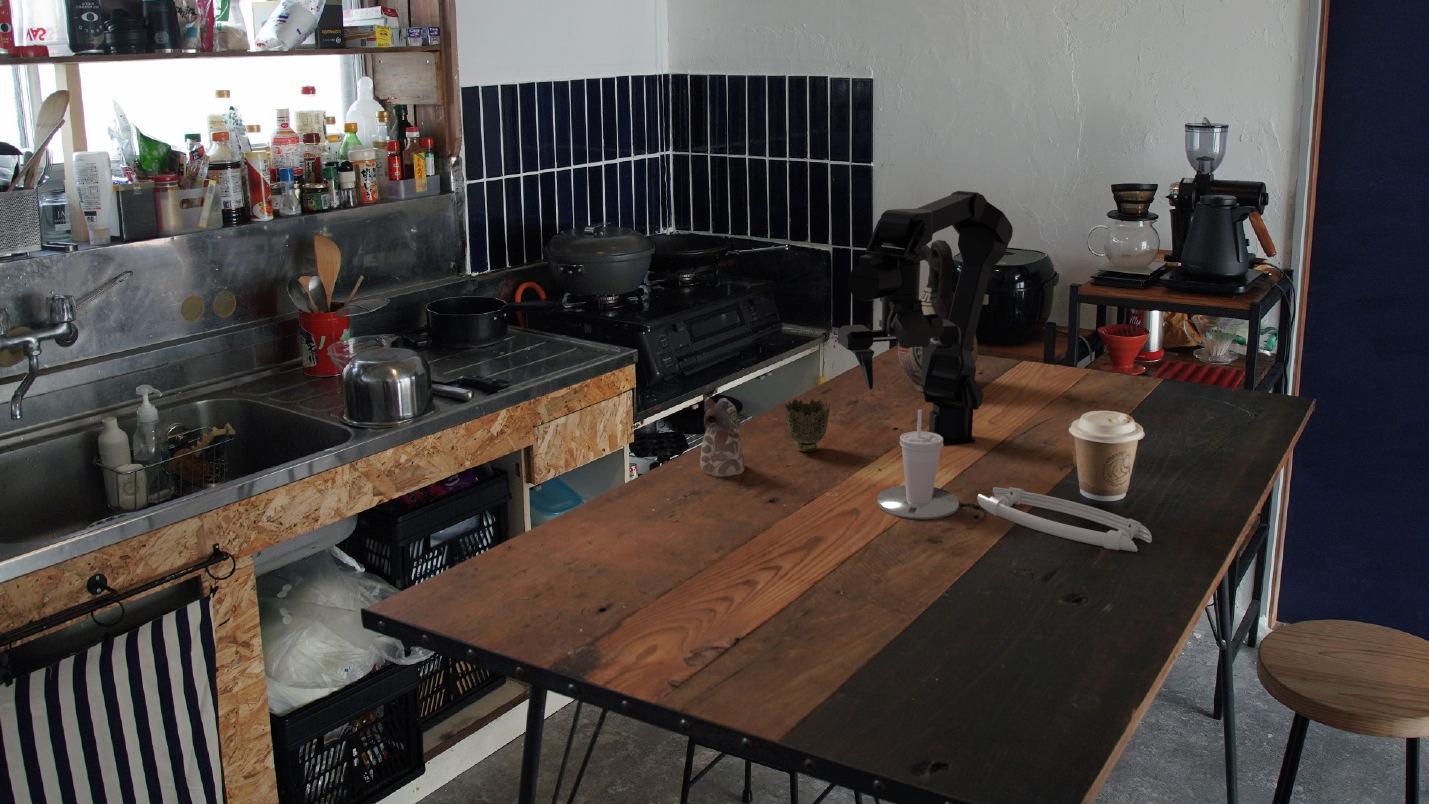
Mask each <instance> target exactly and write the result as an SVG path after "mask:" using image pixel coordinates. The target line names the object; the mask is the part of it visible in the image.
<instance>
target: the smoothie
mask: <svg viewBox="0 0 1429 804" xmlns="http://www.w3.org/2000/svg"><path fill="white" fill-rule="evenodd" d="M922 414H923V410H922V409H918V410H917V427H916V430H915V431H909V432H908V431H907V432H905V433H902V434H901V435H900V436H899V445H900V446H901V451H902V453H901V454H902V461H903V462H902V463H903V464H902V465H903V473H904V474H903V475H904V486H906V497H907V500H908V501H909V502H912V503H917V504H924V503H929V502H931V500H932V495H933V489H934V487H935V485H936V484H935V483H936V477H937V471H938V466H939V460H940V454H941V449H942V448H943V447H944V445H945V444H943V437H942V436H940V435H938V434H935V433H932V432H928V431H923V430H922V418H923V417H922Z"/></svg>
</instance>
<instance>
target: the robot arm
mask: <svg viewBox="0 0 1429 804" xmlns="http://www.w3.org/2000/svg"><path fill="white" fill-rule="evenodd" d="M985 197H986V196H984V194H982V193H979V192H977V191H967V190H966V191H965V190H956V191H953V192H952V193H951V194H950V195H948V196H945V197H943V198H939V199H937V200H935V201H932V202H930V203H929V202H928V203H927V204H925V205H922V206H920V207H918V208H894V209H892V208H891V209H886V210H885V211H884V212H882V214H881V215H880V218H879V219H878V221H877V222H876V226H875V227H874V229H873V231H872V234H871V236H870V239H869V241H868V244H867V246H866V249H865V251H864V255H861V256H860V257H859V264H856V265H854V267H853V268H852V269H851V271H850V273H849V276H848V277H847V286H848V289H849V291H850V292H851V293H850V294H851V295H852V296H853V297H854V298H855V299H857V300H858V301H860V302H870V301H874V300H878V299H879V302H880V303H882V304H881V319H879V321H878V327H880V328H881V329H869V328H868V327H867V326H866V325H863V324H851V325H842V326H841V327H840V328H839V330H838V332H837V334H838V335H837V343H838V344H840V345H841V346H842V347H843V348H845V349H846V350H848V351H850V352H852V353H853V354H854V356H855V358H856V360H857V362H858V364H859V367H860V370H861V372H862V375H863V378H864V380H865V383H866V386H867V389H869V390H870V391H871V390H873V388H874V372H873V371H874V369H873V357H874V355H875V351H874V350H873V349H872V346H873V345H874V343H882V342H894V341H896V342H899V345H900V346H901V347H902V348H911V347H922V387H923V392H922V393H923V397H924V402H925V403H931V404H932V410H931V411H929V418H928V419H929V420H928V430H927V432H932V433H935V434H938V435H940V436H942V437H943V444H944V445H949V444H950V445H951V444H953V445H954V444H963V443H965V444H966V443H974V442H976V441H977V438H976V437H974V436H973V423H974V421H973V420H974V410H975V411H976V410H979V409H980V407H981V406H982V403H983V398H984V395H985V394H984V392H983V390H982V388H981V387H980V385H979V384H978V383H977V381H976V380H975V379H976V372H977V367H976V363H974V360H973V357H972V354H971V349H972V344H973V340H974V336H975V334H976V331H977V330H978V329H977V328H978V324H979V320H980V315H981V311H982V308H983V304H984V300H985V297H986V292H987V288H988V285H989V284H988V283H989V279H990V276H991V273H992V269H993V268H994V267H995V266H996V265H997V264H998V263H999V262H1000V261H1001V260H1002V259H1003V258H1004V257H1005V255H1006V252H1007V250H1008V246H1009V243H1010V242H1011V240H1012V238H1013V233H1014V230H1013V229H1014V228H1013V225H1012V223H1011V222H1010V220H1009V219H1008V217H1007V216H1006V214H1005V213H1004V211H1002V210H1001V209H999V208H997V207H996V206H995V205H993V204H991V203H990V202H988V200H987V199H986V198H985ZM951 226H952V228H954V230H955V232H956V233H957V234H958V241H957V247H958V251H959V253H960V257H961V261H962V263H961V268H960V271H959V276H958V280H957V285H956V288H955V291H954V294H955V296H954V300H953V304H952V308H951V312H950V316H949V320H943V317H942V315H941V314H929V315H924V314H923V310H922V300H920V299H919V297H920V287H921V286H920V283H921V282H920V281H921V280H920V279H921V262H922V261H925V260H926V259H927V258H928V256H927V255H926V253H925V252H923V251H922V250H921V248H923V247H924V246H925V245H927V246H928V244H930V242H931V243H932V240H933V236H934V234H936V233H937V232H940V231H942V230H945V229H947V228H950V227H951Z"/></svg>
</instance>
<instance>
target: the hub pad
mask: <svg viewBox="0 0 1429 804" xmlns="http://www.w3.org/2000/svg"><path fill="white" fill-rule="evenodd" d="M876 501H877V504H876V505H877V507H878V508H879V509H880V510H881V511H883V512H885V513H886V514H889V515H891V516H894V517H898V518H903V519H910V520H921V521H922V520H926V521H927V520H937V519H938V520H939V519H942V518H946V517H949V516H951V515H953V514H955V513H956V512H957V511H958V510H959V505H960V501H959V499H958V497H957V496H956V495H955V494H954V493H952V492H950V491H947V490H946V489H943V488H939V487H935V486H934V489H933V495H932V500H931V502H929V503H924V504H917V503H912V502H909V501H908V500H907V497H906V486H905V485H898V486H897V485H896V486H892V487H889V488H886V489H884V490H882V491H880V492H879V493H878V494H877V500H876Z"/></svg>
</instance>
